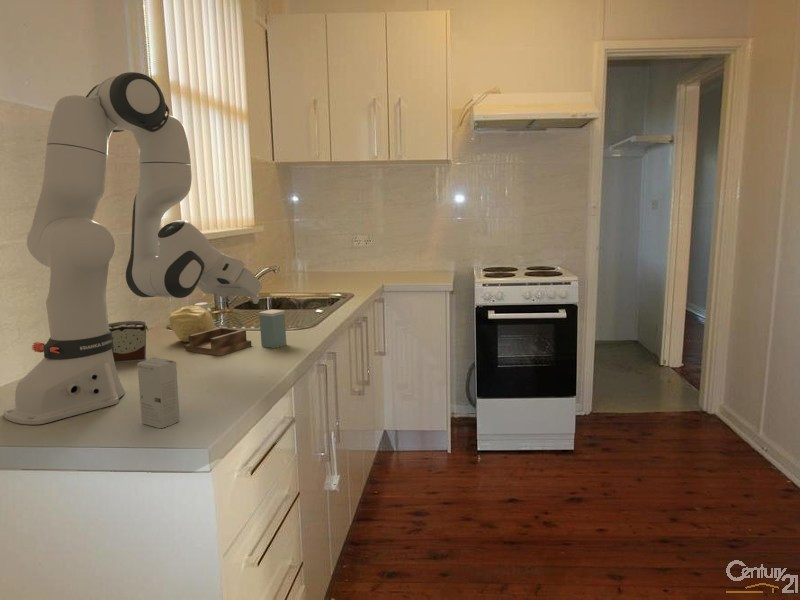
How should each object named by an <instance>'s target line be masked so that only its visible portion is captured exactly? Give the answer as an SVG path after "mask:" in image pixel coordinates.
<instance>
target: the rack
mask: <svg viewBox="0 0 800 600" xmlns="http://www.w3.org/2000/svg"><path fill="white" fill-rule="evenodd" d="M251 345H252V340H248V339H247V330H246V329H242V328H241V329H240V328H232V327H223V326H221V327H216V328H213V329H212V330H208V331H204V332H200V333H196V334H192V335H189V342H188V344H184V349H185V351H189V352H195V353H201V354H205V355H206V354H208V355H212V356H213V355H214V356H223V355H226V354H230V353H233V352H236V351H239V350H242V348H243V349H245V347H246V348H248V346H249V347H252V346H251Z"/></svg>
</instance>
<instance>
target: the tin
mask: <svg viewBox="0 0 800 600" xmlns="http://www.w3.org/2000/svg"><path fill="white" fill-rule="evenodd" d="M285 314H286V311H285V310H282V309H267V310H263V311H259V312H258V316H259V327H260V328H259V329H260V342H261V347H262V346H263V347H262V348H268V347H272V348H271V349H277V348H279V347H278V346H280V347H282V346H281V345H283V346H285V345H284V344H286V345H287V334H286V333H287V332H286V330H287V329H286V316H285ZM276 347H277V348H276Z"/></svg>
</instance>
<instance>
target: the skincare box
mask: <svg viewBox="0 0 800 600" xmlns="http://www.w3.org/2000/svg"><path fill="white" fill-rule="evenodd" d="M177 372H178V371H177V361H175V360H169V359H167V358H159V357H151V358H149V359H146V360H141V361H139V362H137V375H138V387H139V388H138V389H139V403H140V414H141V416H140V417H141V423H142V424H144V425H147V426H149V427H154V428H158V429H164V427H165V428H168V427H170V426H172V424H173V425H175V424H176V422H177V423H178V422H180V405H179V389H178V375H177V374H178V373H177ZM174 423H175V424H174ZM169 425H170V426H169ZM167 426H168V427H167Z"/></svg>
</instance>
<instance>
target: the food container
mask: <svg viewBox="0 0 800 600" xmlns="http://www.w3.org/2000/svg"><path fill="white" fill-rule="evenodd" d="M108 324H109V330H110V331H111V332H112V338H113V346H114V351H113V357H114V362H117V363H126V362H125V361H129V362H138V361H139V362H142V361H145V360H147V354H146V353H147V332H149V328H148V327H149V326H148V325H147V323H146V322H145V321H141V320H127V321H125V320H124V321H117V322H111V323H108Z"/></svg>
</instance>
